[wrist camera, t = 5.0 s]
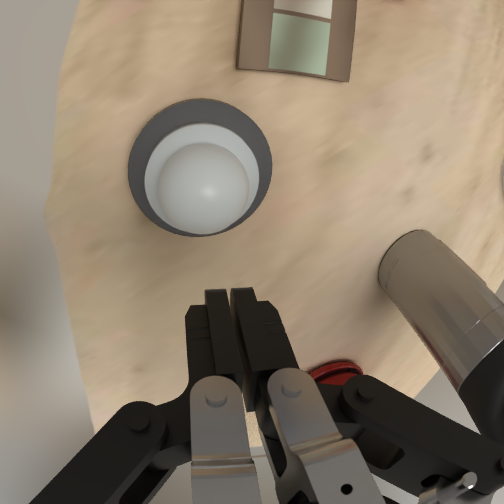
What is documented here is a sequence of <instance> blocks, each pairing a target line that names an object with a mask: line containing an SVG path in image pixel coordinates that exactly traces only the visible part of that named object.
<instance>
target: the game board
mask: <svg viewBox="0 0 504 504" xmlns="http://www.w3.org/2000/svg"><path fill="white" fill-rule="evenodd" d="M356 9H357V0H242V8H241V19H240V30H239V42H238V54H237V67H236V68H237V69H253V70H265V71H275V72H284V73H292V74H300V75H307V76H314V77H320V78H326V79H332V80H337V81H343V82H349V78H350V70H351V61H352V52H353V42H354V32H355V21H356Z"/></svg>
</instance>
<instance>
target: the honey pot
mask: <svg viewBox="0 0 504 504" xmlns="http://www.w3.org/2000/svg"><path fill="white" fill-rule="evenodd" d="M502 187H503V191H504V162H503V168H502Z"/></svg>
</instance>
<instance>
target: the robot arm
mask: <svg viewBox="0 0 504 504" xmlns="http://www.w3.org/2000/svg"><path fill="white" fill-rule="evenodd" d="M379 282H380V284H381V286H382V288H383V289H384V290H385V291H386V293H387V294H388V295H389V297H390V298H391V299H392V301H393V302H394V303H395V305H396V306H397V307H398V309H399V310H400V311H401V313H402V314H403V315H404V317H405V318H406V320H407V321H408V322H409V324H410V325H411V326H412V328H413V329H414V331H415V332H416V333H417V335H418V336H419V337H420V339H421V340H422V342H423V343H424V345H425V346H426V347H427V349H428V350H429V352H430V353H431V355H432V356H433V357H434V359H435V360H436V362H437V363H438V365H439V366H440V368H441V369H442V371H443V372H444V373H445V375H446V376H447V378H448V380H449V381H450V383H451V384H452V386H453V387H454V389H455V390H456V392H457V393H458V395H459V397H460V398H461V400H462V401H463V403H464V404H465V406H466V408H467V410H468V412H469V414H470V416H471V418H472V419H473V421H474V423H475V425H476V427H477V428H478V430H479V432H480V434H481V435H480V434H478V433H476V432H474V431H472V430H470V429H468V428H466V427H464V426H463V425H461V424H459V423H456V422H455V421H453V420H451V419H449V418H447V417H445V416H443V415H441V414H440V413H438V412H436V411H434V410H432V409H430V408H428V407H426V406H425V405H423V404H421V403H419V402H417V401H415V400H414V399H412V398H410V397H408V396H406V395H405V394H403V393H401V392H399V391H397V390H396V389H394V388H392V387H390V386H388V385H387V384H385V383H383V382H381V381H380V380H378V379H376V378H374V377H372V376H369V375H356V376H353V377H351V378H349V379H348V380H347V381H346V383H345V384H344V385H333V384H324V383H319V382H316V381H314V380H313V378H312V377H311V376H310V375H309V374H308V373H306V372H305V371H303V370H300V368H299V366H298V364H297V361H296V358H295V355H294V353H293V350H292V347H291V345H290V342H289V339H288V337H287V334H286V333H285V329H284V326H283V324H282V321H281V318H280V315H279V313H278V310H277V309H276V308H275V307H274V306H273V305H272V304H271V303H270V302H269V301H257V299H256V296H255V293H254V290H253V288H252V287H247V288H231V292H230V306H229V301H228V296H227V292H226V289H211V290H205V305H191V306H190V308H189V310H188V312H187V313H186V315H185V327H186V344H187V359H188V372H189V382H188V385H187V388H186V389H185V391H184V392H183V393H182V394H181V395H180V396H179V397H178V398H176V399H174V400H172V401H169V402H167V403H164V404H161V405H158V406H155V405H153V404H151V403H148V402H144V401H135V402H131V403H128V404H126V405H124V406H123V407H121V408H120V409H119V410H118V411H117V412H116V413H115V415H114V416H113V417H112V418H111V419H110V420H109V421H108V422H107V423H106V424H105V425H104V426H103V427H102V428H101V429H100V430H99V431H98V432H97V434H96V435H95V436H94V437H93V438H92V439H91V440H90V441H89V442H88V443H87V444H86V445H85V446H84V447H83V448H82V449H81V450H80V451H79V452H78V453H77V454H76V456H75V457H74V458H73V459H72V460H71V461H70V462H69V463H68V464H67V465H66V466H65V467H64V468H63V469H62V470H61V471H60V472H59V473H58V474H57V475H56V476H55V477H54V478H53V480H51V481H50V483H49V484H48V485H47V486H46V487H45V488H44V489H43V490H42V491H41V492H40V493H39V494H38V495H37V496H36V497H35V498H34V499H33V500H32V501H31V502H30V503H29V504H148V503H149V502H150V501H151V499H152V498H153V497H154V496H155V495H156V493H157V492H158V491H159V490H160V488H161V487H162V486H163V485H164V483H165V482H166V481H167V479H168V478H169V477H170V476H171V474H172V473H173V472H174V470H175V469H176V467H177V466H179V465H182V464H184V463H187V462H189V461H192V463H191V485H192V499H193V504H262V502H261V496H260V490H259V484H258V478H257V472H256V467H255V464H254V461H253V460H252V458H251V454H250V447H249V441H248V434H247V427H246V420H245V413H244V406H243V399H242V393H243V398H244V402H245V407H246V411H247V412H253V411H255V413H256V418H257V422H258V426H259V427H258V430H259V434H260V437H261V440H262V443H263V446H264V449H265V452H266V455H267V458H268V461H269V464H270V467H271V470H272V473H273V476H274V480H275V489H276V494H277V498H278V501H279V504H399V503H397V502H395V501H394V500H392V499H390V498H388V497H385V496H383V495H381V493H380V491H379V489H378V487H377V484H376V482H375V480H374V479H373V476H372V474H371V473H373V474H374V475H376V476H378V477H380V478H382V479H383V480H386V481H387V482H389V483H391V484H393V485H395V486H397V487H399V488H401V489H403V490H404V491H406V492H408V493H410V494H413V495H415V496H417V497H419V502H418V504H490V503H491V500H492V497H493V495H494V493H495V492H496V490H498V489H500V488H501V487H503V486H504V303H503V302H502V301H501V300H500V299H499V298H498V297H497V296H496V295H495V294H494V293H493V292H492V291H491V290H490V289H489V288H488V287H487V285H486V283H485V282H484V281H483V280H482V279H481V278H480V277H479V276H478V275H477V274H476V273H475V272H474V271H473V270H472V269H471V268H470V267H469V266H468V265H467V264H466V263H465V262H464V261H463V260H462V259H461V258H460V257H458V256H457V255H456V254H455V253H454V252H453V251H452V250H451V249H450V248H449V247H448V246H446V245H445V244H444V243H443V242H442V241H441V240H438V239H437V238H436V237H434V236H433V235H432V234H431V233H429V232H428V231H424V230H418V231H413V232H411V233H409V234H406V235H405V236H403V237H402V238H400V239H399V240H398V241H397V242H396V243H395V244H394V245H393V246H392V247H391V248H390V249H389V250H388V252H387V253H386V255H385V257H384V258H383V261H382V263H381V265H380V269H379Z"/></svg>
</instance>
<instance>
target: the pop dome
mask: <svg viewBox="0 0 504 504" xmlns="http://www.w3.org/2000/svg"><path fill="white" fill-rule="evenodd" d="M258 184H259V170H258V165H257V161H256V159H255V157H254V154H253V153H252V151H251V149H250V148H249V147H248V145H247V144H246V143H245V142H244V141H243V139H242V138H241V137H240V136H239V135H238V134H236V133H235V132H234V131H232V130H231V129H229V128H227V127H225V126H222V125H219V124H216V123H211V122H194V123H189V124H186V125H183V126H180V127H178V128H176V129H174V130H172V131H171V132H169V133H168V134H167V135H166V136H164V137H163V138H162V139H161V140H160V142H159V143H158V144H157V145H156V147H155V148H154V150H153V152H152V154H151V156H150V159H149V162H148V165H147V168H146V172H145V191H146V195H147V199H148V201H149V203H150V205H151V207H152V208H153V210H154V211H155V213H156V214H157V215H158V216H159V217H160V218H161V219H162V220H163V221H165V222H166V223H167V224H169V225H171V226H172V227H174V228H177V229H179V230H182V231H186V232H190V233H194V234H212V233H216V232H219V231H221V230H223V229H225V228H227V227H229V226H230V225H231V224H232V223H234V222H235V221H237V220H238V219H239V218H240V217H241V216H242V215H243V214H245V212H246V211H247V210H248V209H249V207H250V206H251V204H252V202H253V200H254V198H255V196H256V193H257V190H258Z"/></svg>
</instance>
